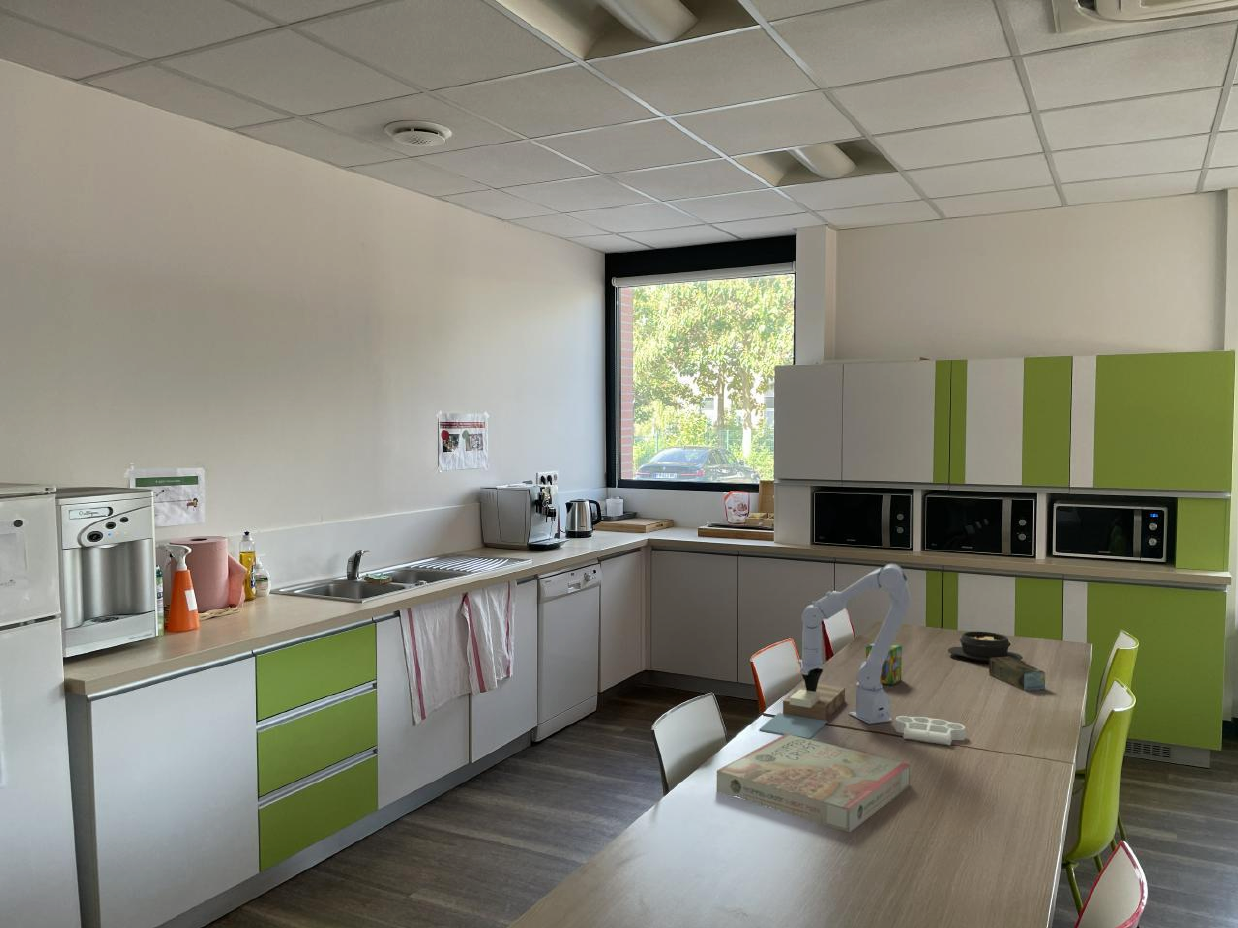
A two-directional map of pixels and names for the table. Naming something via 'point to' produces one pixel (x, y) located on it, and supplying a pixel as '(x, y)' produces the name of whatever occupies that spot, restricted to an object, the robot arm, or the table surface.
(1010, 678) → the beverage carton
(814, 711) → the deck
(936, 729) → the knuckle duster
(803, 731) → the mat
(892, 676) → the chalk box
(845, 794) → the pizza box
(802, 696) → the tile
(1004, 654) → the casserole
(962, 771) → the table surface
